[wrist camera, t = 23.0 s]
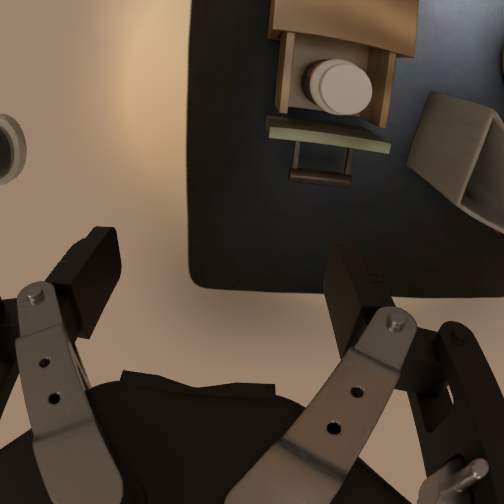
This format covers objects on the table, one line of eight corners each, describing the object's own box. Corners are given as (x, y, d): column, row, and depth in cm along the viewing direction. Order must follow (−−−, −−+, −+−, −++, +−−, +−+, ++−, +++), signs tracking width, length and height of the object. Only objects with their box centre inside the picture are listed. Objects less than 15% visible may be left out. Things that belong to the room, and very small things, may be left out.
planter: (385, 110, 36) (474, 151, 19) (433, 90, 34) (534, 122, 17) (420, 212, 43) (490, 293, 27) (461, 191, 41) (539, 261, 25)
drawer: (358, 176, 40) (378, 200, 33) (261, 166, 39) (263, 188, 33) (379, 35, 30) (407, 30, 23) (275, 17, 29) (280, 4, 23)
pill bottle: (304, 55, 31) (321, 50, 23) (352, 66, 31) (383, 67, 23) (296, 101, 34) (310, 112, 26) (343, 111, 34) (371, 126, 26)
